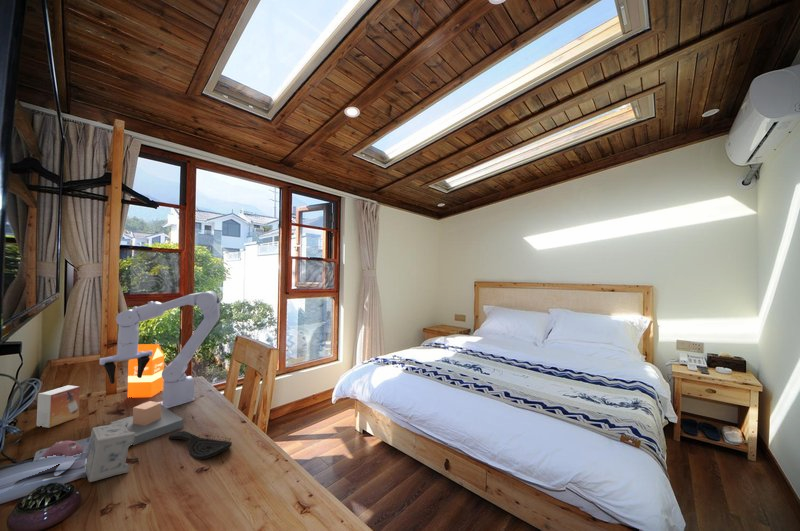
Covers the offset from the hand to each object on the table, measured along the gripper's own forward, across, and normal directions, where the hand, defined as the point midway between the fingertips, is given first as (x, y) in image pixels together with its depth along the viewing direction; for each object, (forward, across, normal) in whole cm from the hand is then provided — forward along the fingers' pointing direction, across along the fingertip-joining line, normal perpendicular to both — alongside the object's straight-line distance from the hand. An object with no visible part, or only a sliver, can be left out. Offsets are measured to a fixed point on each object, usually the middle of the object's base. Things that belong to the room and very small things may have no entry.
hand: (126, 380), depth 113 cm
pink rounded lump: (+11, +20, +28) cm, 37 cm away
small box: (+11, +16, -6) cm, 20 cm away
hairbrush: (+10, -4, +46) cm, 47 cm away
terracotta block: (+8, +1, +23) cm, 24 cm away
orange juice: (+11, -10, -11) cm, 18 cm away
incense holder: (+10, +14, +40) cm, 44 cm away
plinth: (+10, 0, +23) cm, 25 cm away
